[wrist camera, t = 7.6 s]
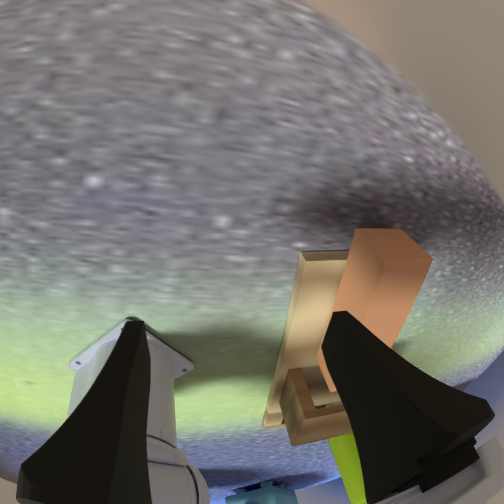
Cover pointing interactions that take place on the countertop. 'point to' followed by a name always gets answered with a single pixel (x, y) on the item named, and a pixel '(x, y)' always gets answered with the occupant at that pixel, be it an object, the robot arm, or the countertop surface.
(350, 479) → the soap dispenser
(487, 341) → the countertop surface
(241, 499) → the teapot
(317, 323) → the board
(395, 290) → the block
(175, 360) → the robot arm
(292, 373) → the tunnel
